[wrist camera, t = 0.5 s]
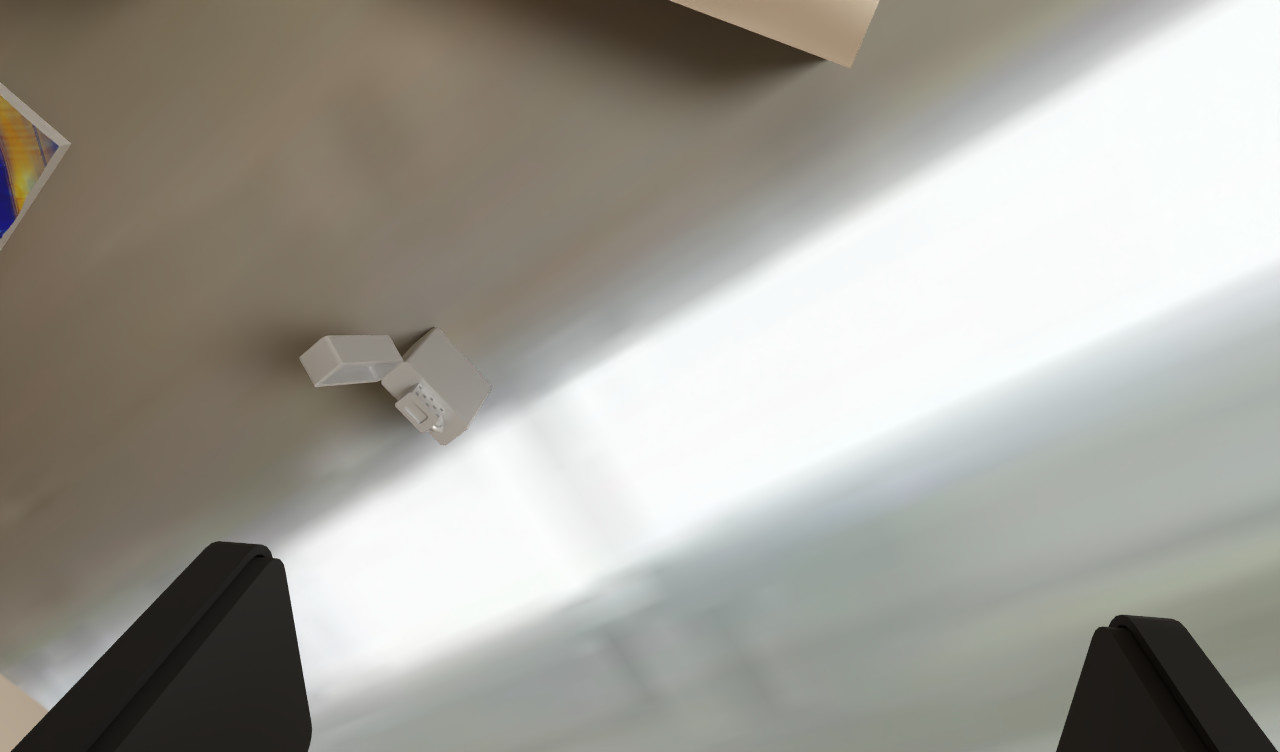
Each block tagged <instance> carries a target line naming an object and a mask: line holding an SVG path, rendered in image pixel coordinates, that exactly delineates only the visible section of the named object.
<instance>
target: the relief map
mask: <svg viewBox="0 0 1280 752" xmlns="http://www.w3.org/2000/svg"><path fill="white" fill-rule="evenodd" d="M70 145H71V143H70V142H69V141H68V140H66V139H65V138H64V137H63V136H62V135H61V134H59V133H58V132H57V131H56V130H55V129H54V128H52V127H51V126H50V125H49V124H48V123H47V122H46V121H44V120H43V119H42V118H41V117H40V116H39V115H37V114H36V113H35V112H34V111H33V110H32V109H30V108H29V107H28V106H27V105H26V104H25V103H23V102H22V101H21V100H20V99H19V98H18V97H17V96H15V95H14V94H13V93H12V92H11V91H10V90H8V89H7V88H6V87H5V86H4V85H3V84H1V83H0V251H1V250H2V248H3V247H4V245H5V244H6V242H7V241H8V239H9V237H10V236H11V234H12V233H13V231H14V230H15V228H16V227H17V225H18V224H19V222H20V221H21V219H22V218H23V216H24V215H25V213H26V212H27V210H28V209H29V207H30V206H31V204H32V203H33V201H34V200H35V198H36V197H37V195H38V194H39V192H40V191H41V189H42V188H43V186H44V185H45V183H46V182H47V180H48V179H49V177H50V176H51V174H52V173H53V171H54V169H55V168H56V166H57V165H58V163H59V162H60V160H61V159H62V157H63V156H64V154H65V153H66V151H67V150H68V148H69V147H70Z"/></svg>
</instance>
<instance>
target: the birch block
mask: <svg viewBox="0 0 1280 752" xmlns="http://www.w3.org/2000/svg"><path fill="white" fill-rule="evenodd" d="M670 1H673V2H675V3H678V4H681V5H683V6H686V7H689V8H691V9H694V10H696V11H699V12H702V13H704V14H707V15H710V16H712V17H715V18H718V19H720V20H723V21H726V22H728V23H731V24H734V25H736V26H739V27H742V28H744V29H747V30H750V31H752V32H755V33H758V34H760V35H763V36H766V37H768V38H771V39H774V40H776V41H779V42H782V43H784V44H787V45H790V46H792V47H795V48H798V49H800V50H803V51H806V52H808V53H811V54H814V55H816V56H819V57H822V58H824V59H827V60H830V61H832V62H835V63H838V64H840V65H843V66H846V67H848V68H851V66H852V64H853V62H854V59H855V57H856V55H857V52H858V50H859V48H860V45H861V43H862V40H863V38H864V36H865V33H866V31H867V29H868V26H869V24H870V22H871V19H872V17H873V14H874V12H875V10H876V7H877V5H878V3H879V0H670Z"/></svg>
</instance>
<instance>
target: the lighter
mask: <svg viewBox="0 0 1280 752" xmlns="http://www.w3.org/2000/svg"><path fill="white" fill-rule="evenodd" d="M299 358H300V361H301V363H302V365H303V366H304V368H305V370H306V372H307V374H308V375H309V377H310V379H311V381H312V383H313V385H314V386H315V387H322V386H333V385H345V384H357V383H369V382H377V381H380V380H382V385H383V386H384V387H385V388H386V389H387V390H388V391H389V392H390V393H391V394H392V395H393V396H394V397H395V398H396V399H397V400H398V401H397V402H396V404H395V407H396V408H397V409H398V410H399V411H400V412H401V413H402V414H403V415H404V416H405V417H406V418H407V419H408V420H409V421H410V422H411V423H412V424H413V425H414V426H415V427H416V428H417V429H418V430H419V431H420V432H421V433H423V432H426V431H428V432H429V433H430V434H431V435H432V436H433V437H434V438H435V439H436V440H437V441H438V442H439V443H440V444H441V445H447V444H448V443H450V442H451V441H452V440H454V439H455V438H456V437H458V436H459V435H460V434H462V433H463V432H464V431H466V430H467V429H468V427H469V426H470V424H471V422H472V421H473V419H474V417H475V416H476V414H477V412H478V411H479V409H480V407H481V406H482V404H483V402H484V401H485V399H486V398H487V396H488V394H489V393H490V391H491V389H492V385H491V384H490V383H489V381H488V380H487V379H486V378H485V377H484V376H483V375H482V374H481V373H480V372H479V371H478V370H477V369H476V367H475V366H474V365H473V364H472V363H471V362H470V361H469V360H468V359H467V358H466V357H465V356H464V355H463V353H462V352H461V351H460V350H459V349H458V348H457V347H456V346H455V345H454V344H453V343H452V342H451V341H450V339H449V338H448V337H447V336H446V335H445V334H444V333H443V332H442V331H441V330H440V329H439V328H436V327H433V328H432V329H431V330H430V331H429V332H427V333H426V334H425V335H424V336H423V337H421V338H420V339H419V340H418V341H416V342H415V343H414V344H413V345H412V346H411V347H410V348H409V350H408V351H407V352H406V353H405V354H404V355H403V356H402V357H401V355H400V354H399V352H398V350H397V349H396V347H395V345H394V343H393V342H392V340H391V338H390V336H389V335H328V336H325V337H323V338H321V339H320V340H319V341H318V342H316V343H315V344H314V345H313V346H312V347H311V348H310V349H308V350H307V351H306V352H305V353H304V354H303V355H301V356H300V357H299Z"/></svg>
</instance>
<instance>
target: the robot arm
mask: <svg viewBox="0 0 1280 752" xmlns="http://www.w3.org/2000/svg"><path fill="white" fill-rule="evenodd" d="M311 735H312V724H311V718H310V712H309V706H308V700H307V695H306V689H305V683H304V677H303V671H302V666H301V660H300V654H299V648H298V642H297V636H296V631H295V625H294V619H293V613H292V607H291V601H290V596H289V590H288V584H287V578H286V572H285V568H284V564H283V563H282V561H281V560H280V559H277V558H272V554H271V552H270V550H269V549H268V548H267V547H266V546H264V545H259V544H246V543H234V542H222V541H218V542H214V543H211V544H210V545H209V546H208V547H206V548H205V549H204V550H203V551H202V552H201V553H200V554H199V556H198V557H197V558H196V559H195V560H194V561H193V562H192V563H191V564H190V565H189V566H188V567H187V568H186V569H185V570H184V571H183V572H182V573H181V574H180V575H179V576H178V577H177V578H176V580H175V581H174V582H173V583H172V584H171V585H170V586H169V587H168V588H167V589H166V590H165V591H164V592H163V593H162V594H161V595H160V596H159V597H158V598H157V599H156V600H155V601H154V603H153V604H152V605H151V606H150V607H149V608H148V609H147V610H146V611H145V612H144V613H143V614H142V615H141V616H140V617H139V618H138V619H137V620H136V621H135V622H134V623H133V624H132V626H131V627H130V628H129V629H128V630H127V631H126V632H125V633H124V634H123V635H122V636H121V637H120V638H119V639H118V640H117V641H116V642H115V643H114V644H113V645H112V646H111V647H110V648H109V650H108V651H107V652H106V653H105V654H104V655H103V656H102V657H101V658H100V659H99V660H98V661H97V662H96V663H95V664H94V665H93V666H92V667H91V668H90V669H89V670H88V671H87V673H86V674H85V675H84V676H83V677H82V678H81V679H80V680H79V681H78V682H77V683H76V684H75V685H74V686H73V687H72V688H71V689H70V690H69V691H68V692H67V693H66V694H65V696H64V697H63V698H62V699H61V700H60V701H59V702H58V703H57V704H56V705H55V706H54V707H53V708H52V709H51V710H50V711H49V712H48V713H47V714H46V715H45V716H44V718H43V719H42V720H41V721H40V722H39V723H38V724H37V725H36V726H35V727H34V728H33V729H32V730H31V731H30V732H29V733H28V734H27V735H26V736H25V737H24V738H23V739H22V741H21V742H20V743H19V744H18V745H17V746H16V747H15V748H14V749H13V750H12V751H11V752H308V749H309V746H310V741H311ZM1056 752H1278V751H1277V750H1276V749H1275V747H1274V746H1273V744H1272V743H1271V742H1270V740H1269V739H1268V738H1267V736H1266V735H1265V734H1264V732H1263V731H1262V730H1261V728H1260V727H1259V726H1258V724H1257V723H1256V722H1255V720H1254V719H1253V718H1252V716H1251V715H1250V714H1249V712H1248V711H1247V710H1246V708H1245V707H1244V706H1243V704H1242V703H1241V702H1240V700H1239V699H1238V698H1237V696H1236V695H1235V694H1234V692H1233V691H1232V690H1231V688H1230V687H1229V686H1228V684H1227V683H1226V682H1225V680H1224V679H1223V678H1222V676H1221V675H1220V673H1219V672H1218V671H1217V669H1216V668H1215V667H1214V665H1213V664H1212V663H1211V661H1210V660H1209V659H1208V657H1207V656H1206V655H1205V653H1204V652H1203V651H1202V649H1201V648H1200V647H1199V645H1198V644H1197V643H1196V641H1195V640H1194V639H1193V637H1192V636H1191V635H1190V633H1189V632H1188V631H1187V629H1186V628H1185V627H1184V626H1183V625H1182V624H1181V623H1180V622H1179V621H1176V620H1174V619H1168V618H1156V617H1143V616H1131V615H1119V616H1116V617H1115V618H1114V619H1113V620H1112V621H1111V623H1110V625H1109V627H1099V628H1098V629H1097V630H1096V631H1095V633H1094V635H1093V637H1092V640H1091V643H1090V646H1089V650H1088V653H1087V656H1086V659H1085V662H1084V665H1083V669H1082V672H1081V675H1080V678H1079V681H1078V684H1077V687H1076V691H1075V694H1074V697H1073V700H1072V703H1071V706H1070V710H1069V713H1068V716H1067V719H1066V722H1065V725H1064V729H1063V732H1062V735H1061V738H1060V741H1059V744H1058V748H1057V751H1056Z"/></svg>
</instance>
